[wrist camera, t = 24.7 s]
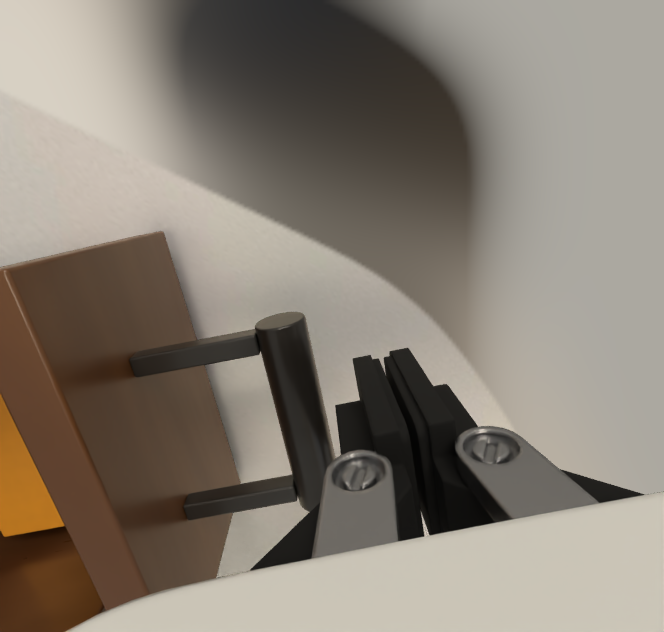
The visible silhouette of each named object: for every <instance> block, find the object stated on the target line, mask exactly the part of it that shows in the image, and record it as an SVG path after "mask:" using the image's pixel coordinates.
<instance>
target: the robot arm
mask: <svg viewBox="0 0 664 632" xmlns="http://www.w3.org/2000/svg"><path fill="white" fill-rule="evenodd" d="M353 364H354V370H355V375H356V381H357V386H358V391H359V397H360V401H355V402H350V403H344V404H339V405H335V407H336V416H337V424H338V432H339V440H340V449H341V455H340V456H339V457H337V458H336V459H335V460H333V461H332V462H331V464H330V465H329V466H328V467H327V470H326V472H325V476H324V482H323V489H322V495H321V501H320V503H319V504H318V505H317V506H316V507H315V508H314V509H313V510H312V511H311V512H310V513H308V514H307V515H306V516H305V517H304V518H303V519H302V520H301V521H300V522H299V523H298V524H297V525H296V526H295V527H294V528H293V529H292V530H291V531H290V532H289V533H288V534H287V535H286V536H285V537H284V538H283V539H282V540H281V541H280V542H279V543H278V544H277V545H276V546H274V547H273V548H272V549H271V550H270V551H269V552H268V553H267V554H266V555H265V556H264V557H263V558H262V559H261V560H260V561H259V562H258V563H257V564H256V565H255V566H254V567H253V568H252V569H251V570H250V571H247V572H242V573H237V574H231V575H227V576H223V577H218V578H214V579H210V580H205V581H201V582H197V583H192V584H188V585H184V586H180V587H175V588H171V589H167V590H163V591H160V592H157V593H154V594H150V595H147V596H144V597H141V598H138V599H134V600H132V601H129V602H127V603H124V604H122V605H119V606H117V607H115V608H112V609H110V610H107V611H105V612H102V613H100V614H98V615H96V616H94V617H92V618H90V619H88V620H86V621H84V622H82V623H81V624H79V625H77V626H75V627H73V628H71V629H69V630H67V631H65V632H664V491H663V492H659V493H653V494H647V495H644V494H641V493H638V492H634V491H631V490H628V489H624V488H621V487H618V486H614V485H611V484H607V483H604V482H601V481H597V480H594V479H590V478H587V477H584V476H581V475H577V474H574V473H571V472H567V471H564V470H561V469H559V468H558V467H556V466H555V465H554V464H553V463H551V462H550V461H549V460H548V459H547V458H546V457H545V456H543V455H542V454H541V453H540V452H539V451H537V450H536V449H535V448H534V447H533V446H531V445H530V444H529V443H528V442H527V441H526V440H524V439H523V438H522V437H521V436H519V435H517V434H516V433H514V432H513V431H510V430H507V429H504V428H500V427H494V426H481V427H478V426H477V424H476V423H475V422H474V420H473V419H472V418H471V416H470V415H469V413H468V412H467V411H466V409H465V408H464V407H463V405H462V404H461V402H460V401H459V400H458V398H457V397H456V396H455V394H454V393H453V392H452V390H451V389H450V387H449V386H448V385H447V384H443V385H438V386H433V385H432V384H431V382H430V381H429V379H428V378H427V376H426V374H425V373H424V371H423V370H422V368H421V367H420V365H419V364H418V362H417V361H416V359H415V357H414V356H413V354H412V353H411V351H410V350H409V348H404V349H399V350H394V351H390V356H388V357H384V365H385V371H386V375H385V372H384V370H383V368H382V365H381V363H380V361H379V359H373V360H372V358H371V355H368V356H363V357H358V358H353ZM420 509H421V510H420ZM421 512H422V515H423V518H424V521H425V524H426V526H427V529H428V532H429V535H430V536H425V537H424V531H423V524H422V517H421Z"/></svg>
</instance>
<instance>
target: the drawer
mask: <svg viewBox="0 0 664 632" xmlns="http://www.w3.org/2000/svg"><path fill="white" fill-rule="evenodd" d="M260 351H261V354H262V358H263V362H264V366H265V369H266V373H267V377H268V381H269V385H270V389H271V393H272V397H273V401H274V404H275V408H276V412H277V416H278V420H279V424H280V428H281V432H282V436H283V439H284V443H285V447H286V451H287V455H288V459H289V463H290V467H291V471H292V475H288V476H282V477H277V478H271V479H266V480H260V481H255V482H249V483H244V484H240V479H239V476H238V473H237V470H236V466H235V463H234V460H233V457H232V453H231V450H230V447H229V444H228V440H227V437H226V434H225V431H224V427H223V424H222V421H221V417H220V414H219V411H218V408H217V404H216V401H215V398H214V395H213V391H212V388H211V385H210V382H209V378H208V375H207V372H206V369H205V365H207V364H212V363H218V362H223V361H228V360H234V359H239V358H244V357H250V356H255V355H259V354H260ZM0 394H1V396H2V398H3V400H4V402H5V404H6V407H7V409H8V411H9V413H10V415H11V417H12V419H13V421H14V423H15V425H16V427H17V429H18V431H19V433H20V435H21V437H22V439H23V441H24V443H25V445H26V447H27V450H28V452H29V454H30V456H31V458H32V460H33V462H34V464H35V466H36V468H37V470H38V472H39V474H40V476H41V478H42V480H43V482H44V484H45V486H46V488H47V490H48V493H49V495H50V497H51V499H52V501H53V503H54V505H55V507H56V509H57V511H58V513H59V515H60V517H61V519H62V521H63V523H64V525H65V526H63V527H58V528H52V529H47V530H41V531H36V532H30V533H25V534H19V535H14V536H8V537H4V536H3V534H2V533H1V531H0V632H65V631H67V630H69V629H71V628H73V627H75V626H77V625H79V624H81V623H82V622H84V621H86V620H88V619H90V618H92V617H94V616H96V615H98V614H100V613H102V612H105V611H107V610H110V609H112V608H115V607H117V606H119V605H122V604H124V603H127V602H129V601H132V600H134V599H138V598H141V597H144V596H147V595H150V594H154V593H157V592H160V591H163V590H167V589H171V588H175V587H180V586H184V585H188V584H192V583H197V582H201V581H205V580H210V579H214V578H216V576H217V573H218V569H219V565H220V561H221V557H222V553H223V549H224V545H225V542H226V538H227V534H228V530H229V526H230V522H231V518H232V515H233V513H234V512H240V511H245V510H251V509H256V508H262V507H267V506H273V505H278V504H284V503H289V502H295V501H297V498H299V502H300V504H301V506H302V507H303V508H304V509H305V510H307V511H309V512H311V511H312V510H313V509H314V508H315V507H316V506H317V505H318V504H319V503H320V501H321V495H322V489H323V482H324V476H325V472H326V470H327V467H328V466H329V465H330V464H331V462H332V461H333V460H335V459H336V458H335V453H334V449H333V444H332V439H331V435H330V430H329V425H328V421H327V416H326V411H325V407H324V402H323V397H322V393H321V388H320V383H319V379H318V374H317V369H316V365H315V360H314V355H313V351H312V346H311V341H310V337H309V332H308V327H307V323H306V318H305V315H304V314H303V313H300V312H286V313H280V314H276V315H272V316H269V317H267V318H264V319H262V320H261V321H259V322H258V323H257V324H256V325H255V329H253V330H248V331H242V332H237V333H232V334H227V335H221V336H216V337H211V338H205V339H200V340H197V339H196V336H195V333H194V330H193V326H192V323H191V320H190V316H189V313H188V310H187V307H186V303H185V300H184V297H183V294H182V290H181V287H180V284H179V281H178V277H177V274H176V271H175V268H174V264H173V261H172V258H171V255H170V251H169V248H168V245H167V242H166V238H165V235H164V233H163V232H162V231H159V232H154V233H149V234H144V235H139V236H134V237H129V238H125V239H121V240H116V241H112V242H108V243H103V244H99V245H94V246H90V247H86V248H81V249H77V250H73V251H68V252H64V253H60V254H55V255H51V256H47V257H42V258H38V259H34V260H29V261H25V262H20V263H16V264H12V265H7V266H3V267H0Z"/></svg>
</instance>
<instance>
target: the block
mask: <svg viewBox="0 0 664 632" xmlns="http://www.w3.org/2000/svg"><path fill="white" fill-rule="evenodd" d="M63 526H65V525H64V523H63V521H62V519H61V517H60V515H59V513H58V511H57V509H56V507H55V505H54V503H53V501H52V499H51V497H50V495H49V493H48V490H47V488H46V486H45V484H44V482H43V480H42V478H41V476H40V474H39V472H38V470H37V468H36V466H35V464H34V462H33V460H32V458H31V456H30V454H29V452H28V450H27V447H26V445H25V443H24V441H23V439H22V437H21V435H20V433H19V431H18V429H17V427H16V425H15V423H14V421H13V419H12V417H11V415H10V413H9V411H8V409H7V407H6V404H5V402H4V400H3V398H2V396H1V394H0V531H1V533H2V534H3V536H4V537H8V536H14V535H19V534H25V533H30V532H36V531H41V530H47V529H52V528H58V527H63Z"/></svg>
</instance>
